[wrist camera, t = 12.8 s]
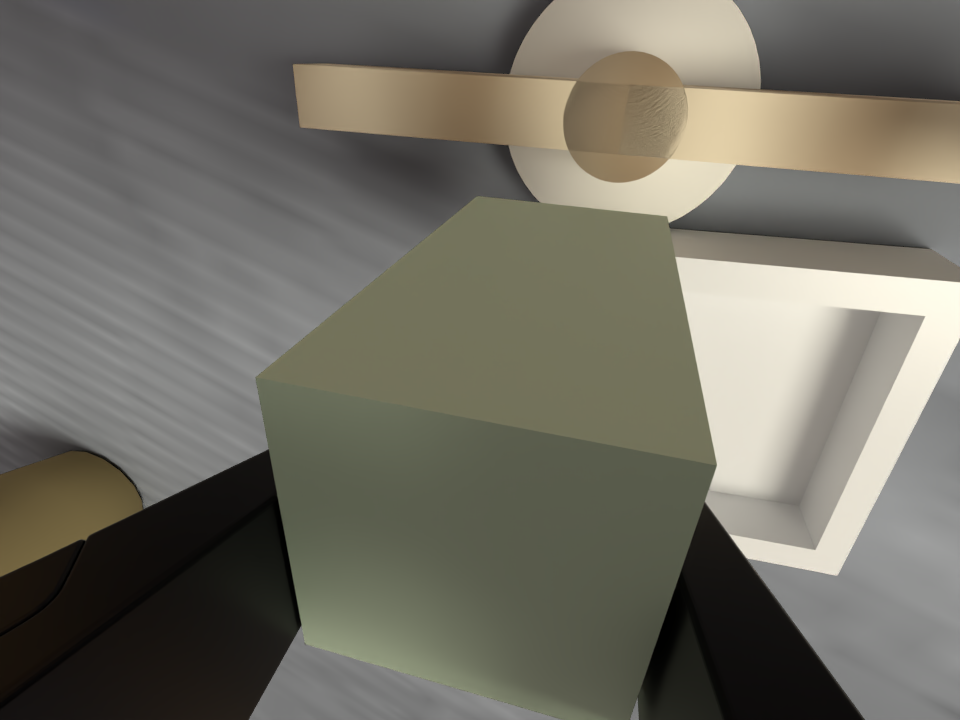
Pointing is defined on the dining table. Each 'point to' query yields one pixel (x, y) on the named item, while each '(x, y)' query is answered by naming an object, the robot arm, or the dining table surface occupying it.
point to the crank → (639, 118)
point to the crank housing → (644, 28)
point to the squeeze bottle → (59, 505)
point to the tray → (811, 379)
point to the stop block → (498, 458)
